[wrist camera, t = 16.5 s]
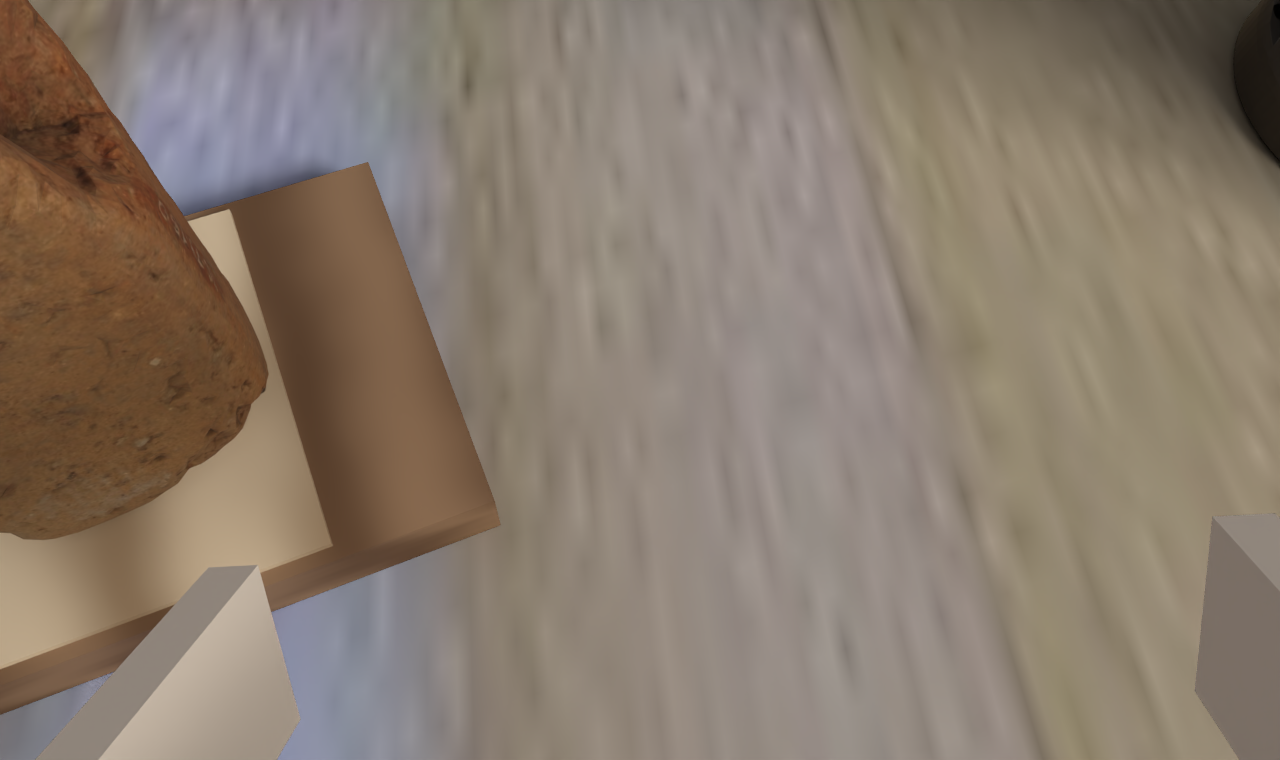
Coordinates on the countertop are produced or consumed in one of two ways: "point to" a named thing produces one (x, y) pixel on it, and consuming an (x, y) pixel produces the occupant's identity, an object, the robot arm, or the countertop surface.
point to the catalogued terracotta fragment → (100, 307)
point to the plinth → (272, 448)
